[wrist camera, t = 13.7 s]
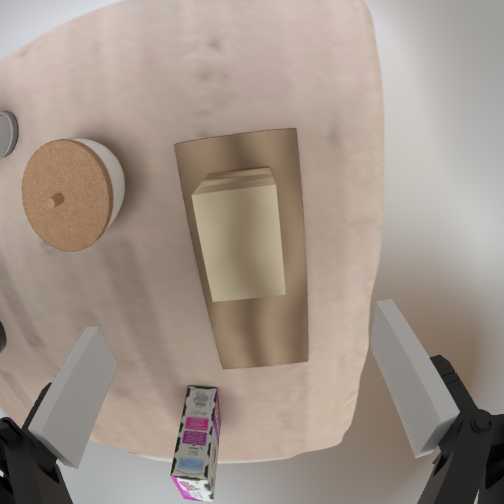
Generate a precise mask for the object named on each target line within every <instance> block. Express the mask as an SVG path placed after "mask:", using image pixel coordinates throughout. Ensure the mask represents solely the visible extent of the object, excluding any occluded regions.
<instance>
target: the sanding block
mask: <svg viewBox="0 0 504 504" xmlns="http://www.w3.org/2000/svg"><path fill="white" fill-rule="evenodd" d="M191 196H192V201H193V207H194V212H195V218H196V223H197V228H198V233H199V238H200V243H201V248H202V253H203V258H204V263H205V268H206V273H207V277H208V282H209V286H210V291H211V296H212V300H213V302H217V301H229V300H239V299H249V298H259V297H269V296H278V295H286V292H285V279H284V266H283V255H282V243H281V232H280V221H279V210H278V200H277V190H276V184H275V181H274V178H273V176H272V173H271V170H270V168H269V166H265V167H256V168H248V169H239V170H232V171H224V172H217V173H210V174H208V175H207V176H206V177H205V179H204V180H203V181H202V182H201V184H200V185H199V186H198V188H197V189H196V190H195V191H194V193H193V194H192V195H191Z"/></svg>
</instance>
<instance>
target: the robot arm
mask: <svg viewBox="0 0 504 504" xmlns="http://www.w3.org/2000/svg"><path fill="white" fill-rule="evenodd" d="M5 345H6V337H5V333H4V330H3V327H2V325H1V323H0V352H1V351H2V350H3V348H4V347H5ZM370 348H371V350H372V352H373V354H374V357H375V359H376V361H377V364H378V366H379V368H380V370H381V373H382V375H383V377H384V379H385V382H386V384H387V387H388V389H389V391H390V394H391V396H392V399H393V401H394V404H395V406H396V409H397V411H398V413H399V416H400V419H401V421H402V424H403V426H404V429H405V432H406V434H407V437H408V439H409V442H410V445H411V448H412V450H413V453H414V456H415V458H418V457H421V456H423V455H426V454H429V453H432V452H433V451H434V450H435V448H436V447H437V446H438V445H439V447H440V450H441V452H440V454H439V455H438V456H437V457H436V459H435V460H434V462H433V464H435V463H436V464H435V466H434V468H433V471H432V473H431V475H430V478H429V480H428V482H427V485H426V487H425V489H424V491H423V493H422V495H421V497H420V499H419V501H418V503H417V504H474V501H475V498H476V495H477V492H478V489H479V495H478V503H477V504H504V414H500V415H491V414H490V413H489V412H487V411H485V410H482V409H478V408H477V406H476V405H475V403H474V402H473V400H472V398H471V396H470V395H469V393H468V391H467V390H466V388H465V386H464V385H463V383H462V381H461V380H460V378H459V376H458V375H457V373H455V370H454V368H453V367H452V365H451V364H450V362H449V361H448V360H446V359H445V358H444V357H442V356H441V355H437V356H433V357H430V358H429V357H428V355H427V353H426V352H425V350H424V348H423V347H422V346H421V344H420V342H419V340H418V339H417V337H416V336H415V334H414V333H413V331H412V329H411V328H410V326H409V325H408V323H407V322H406V320H405V319H404V317H403V316H402V314H401V313H400V311H399V310H398V308H397V307H396V305H395V304H394V302H393V301H392V299H388V300H382V301H377V302H376V308H375V316H374V323H373V330H372V337H371V343H370ZM117 368H118V365H117V363H116V361H115V359H114V358H113V356H112V354H111V352H110V350H109V348H108V346H107V344H106V342H105V339H104V337H103V335H102V333H101V331H100V329H99V327H86V328H85V330H84V331H83V333H82V335H81V336H80V338H79V339H78V341H77V342H76V344H75V346H74V347H73V349H72V351H71V352H70V354H69V355H68V357H67V359H66V360H65V362H64V364H63V365H62V367H61V369H60V370H59V372H58V374H57V376H56V377H55V379H54V381H53V383H51V382H50V383H49V384H48V385H47V386H46V387H45V388H44V389H43V390H42V391H41V393H40V395H39V397H38V399H37V400H36V402H35V404H34V406H33V407H32V409H31V411H30V413H29V415H28V417H27V419H26V421H25V423H24V424H23V426H22V428H21V429H20V428H19V427H18V425H17V424H16V423H15V422H14V421H13V420H12V419H11V418H9V417H3V418H1V419H0V470H1V471H2V472H3V473H4V475H3V477H1V476H0V504H73V502H72V500H71V498H70V495H69V493H68V490H67V488H66V485H65V482H64V480H63V477H62V474H61V472H60V469H59V467H58V465H57V464H56V460H57V459H59V460H60V461H61V462H62V463H63V464H64V465H67V466H70V467H73V468H77V469H78V467H79V464H80V461H81V459H82V455H83V453H84V450H85V447H86V445H87V442H88V439H89V437H90V434H91V431H92V429H93V426H94V424H95V421H96V418H97V416H98V413H99V411H100V408H101V406H102V403H103V401H104V399H105V396H106V394H107V391H108V389H109V387H110V384H111V382H112V379H113V377H114V375H115V373H116V370H117Z"/></svg>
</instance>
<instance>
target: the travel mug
mask: <svg viewBox="0 0 504 504" xmlns="http://www.w3.org/2000/svg"><path fill="white" fill-rule="evenodd" d="M17 135H18V127H17V122H16V119H15V117H14V116H13V115H12V114H11V113H10V112H8V111H3V112H0V158H3V157H6V156H8V155H9V154H10V153H11V152H12V150H13V149H14V147H15V144H16V141H17Z"/></svg>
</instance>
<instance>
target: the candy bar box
mask: <svg viewBox="0 0 504 504" xmlns="http://www.w3.org/2000/svg"><path fill="white" fill-rule="evenodd" d="M220 425H221V423H220V413H219V401H218V389H217V388H209V387H198V386H188V389H187V394H186V399H185V404H184V409H183V414H182V419H181V424H180V429H179V433H178V438H177V443H176V448H175V453H174V459H173V464H172V470H171V474H170V476H171V478H172V479H173V481H174V483H175V484H176V486H177V488H178V489H179V491H180V493H181V494H182V496H183V498H184V499H190V500H198V501H210V502H214V488H215V479H216V468H217V457H218V446H219V436H220Z"/></svg>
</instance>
